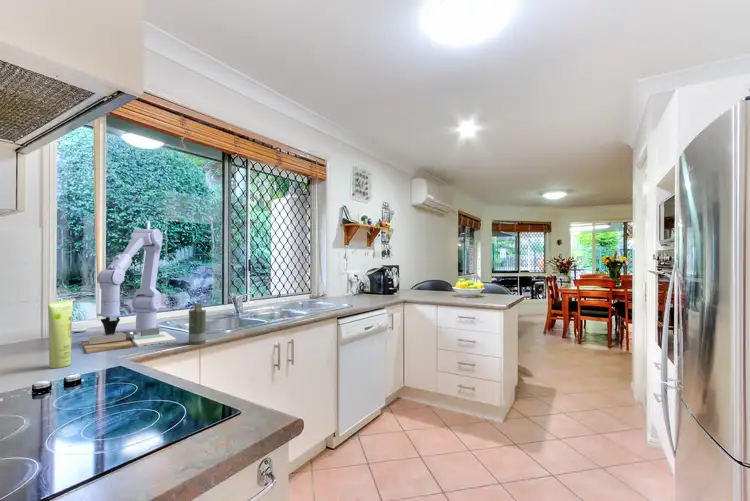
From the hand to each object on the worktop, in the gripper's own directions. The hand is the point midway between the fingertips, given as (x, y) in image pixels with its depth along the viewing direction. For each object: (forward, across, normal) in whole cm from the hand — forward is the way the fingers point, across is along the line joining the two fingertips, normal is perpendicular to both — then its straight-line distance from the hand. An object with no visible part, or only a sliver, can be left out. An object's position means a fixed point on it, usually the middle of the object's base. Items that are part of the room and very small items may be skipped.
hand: (109, 337), depth 140 cm
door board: (+2, +4, +13) cm, 14 cm away
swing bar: (+1, +3, 0) cm, 3 cm away
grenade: (+2, +21, +25) cm, 32 cm away
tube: (+2, +25, -15) cm, 29 cm away
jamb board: (+2, +4, -1) cm, 4 cm away
